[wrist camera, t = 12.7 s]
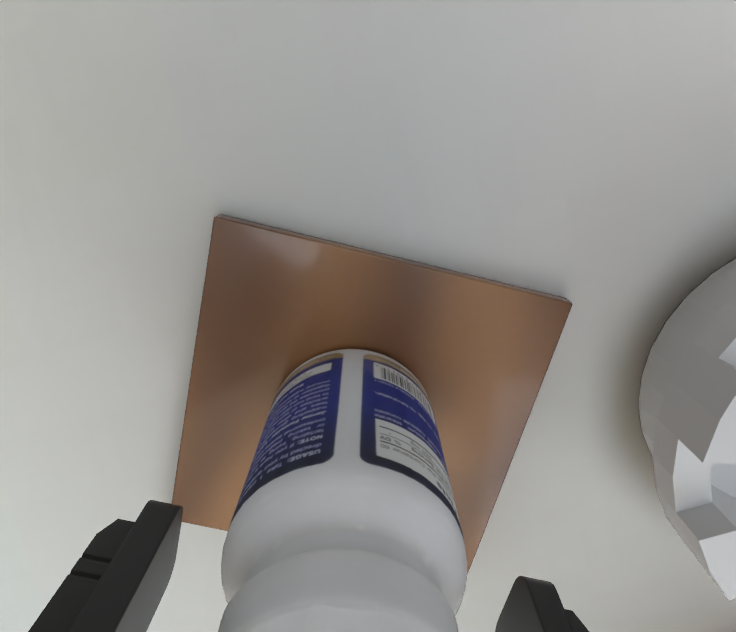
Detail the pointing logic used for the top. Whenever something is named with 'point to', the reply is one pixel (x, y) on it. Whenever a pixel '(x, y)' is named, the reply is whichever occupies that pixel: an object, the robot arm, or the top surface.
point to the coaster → (365, 332)
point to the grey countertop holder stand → (697, 423)
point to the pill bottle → (346, 508)
